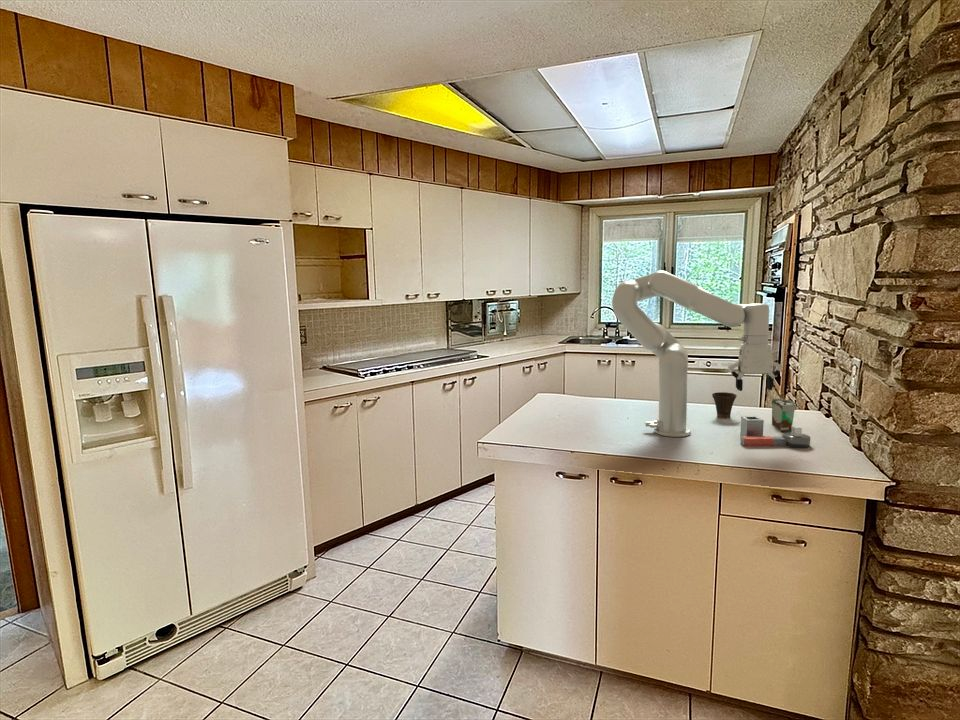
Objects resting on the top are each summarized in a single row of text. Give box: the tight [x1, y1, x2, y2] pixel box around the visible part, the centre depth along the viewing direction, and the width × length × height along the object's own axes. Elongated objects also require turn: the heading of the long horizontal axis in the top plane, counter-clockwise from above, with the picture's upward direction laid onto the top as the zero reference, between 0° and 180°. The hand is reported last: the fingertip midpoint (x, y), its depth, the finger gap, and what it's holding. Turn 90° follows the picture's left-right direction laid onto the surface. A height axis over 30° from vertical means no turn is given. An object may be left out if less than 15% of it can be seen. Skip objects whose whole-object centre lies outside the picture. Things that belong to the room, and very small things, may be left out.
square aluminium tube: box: [739, 415, 765, 437], centre depth 185 cm, size 5×5×7 cm
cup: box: [711, 391, 737, 419], centre depth 212 cm, size 9×9×10 cm
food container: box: [771, 398, 797, 433], centre depth 194 cm, size 12×6×10 cm, turn 168°
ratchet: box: [740, 425, 811, 450], centre depth 177 cm, size 21×8×6 cm, turn 84°
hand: (754, 389), depth 183 cm, fingers open, 9 cm apart
